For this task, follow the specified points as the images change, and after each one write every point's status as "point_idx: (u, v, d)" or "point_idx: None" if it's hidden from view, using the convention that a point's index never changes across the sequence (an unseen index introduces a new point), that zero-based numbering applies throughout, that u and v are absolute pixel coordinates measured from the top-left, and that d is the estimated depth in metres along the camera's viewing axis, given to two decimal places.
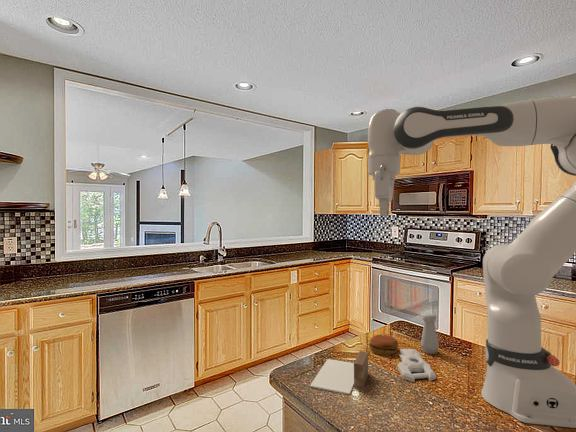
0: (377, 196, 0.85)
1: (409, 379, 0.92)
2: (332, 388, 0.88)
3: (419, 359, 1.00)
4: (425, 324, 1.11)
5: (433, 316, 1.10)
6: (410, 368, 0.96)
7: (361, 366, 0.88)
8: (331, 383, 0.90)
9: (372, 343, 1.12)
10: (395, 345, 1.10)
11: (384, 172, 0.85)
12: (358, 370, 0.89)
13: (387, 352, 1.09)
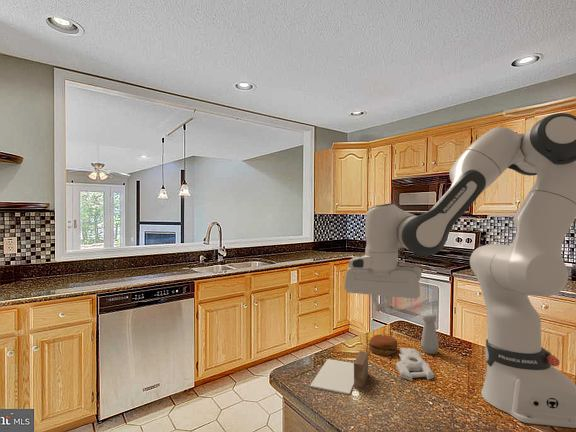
0: None
1: (407, 378, 0.92)
2: (332, 388, 0.88)
3: (418, 358, 1.01)
4: (425, 324, 1.11)
5: (433, 316, 1.10)
6: (408, 367, 0.97)
7: (361, 366, 0.88)
8: (331, 383, 0.90)
9: (372, 343, 1.12)
10: (395, 345, 1.10)
11: None
12: (358, 370, 0.89)
13: (387, 352, 1.09)
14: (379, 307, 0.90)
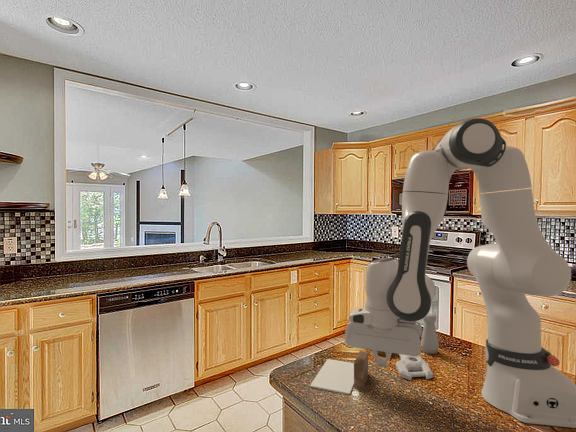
0: (419, 354, 0.86)
1: (406, 377, 0.93)
2: (332, 388, 0.88)
3: (418, 358, 1.01)
4: (425, 324, 1.11)
5: (433, 316, 1.10)
6: (408, 366, 0.97)
7: (361, 366, 0.88)
8: (331, 383, 0.90)
9: None
10: None
11: None
12: (358, 370, 0.89)
13: None
14: (379, 362, 0.90)
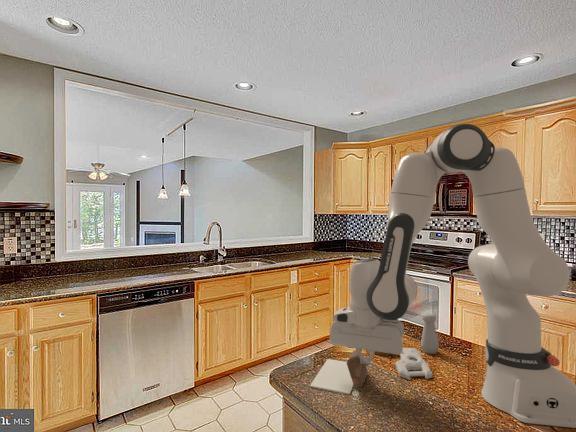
0: (401, 352, 0.88)
1: (405, 377, 0.93)
2: (332, 388, 0.88)
3: (418, 358, 1.01)
4: (425, 324, 1.11)
5: (433, 316, 1.10)
6: (407, 366, 0.97)
7: (354, 364, 0.89)
8: (331, 383, 0.90)
9: None
10: None
11: None
12: (352, 368, 0.89)
13: None
14: (363, 360, 0.92)
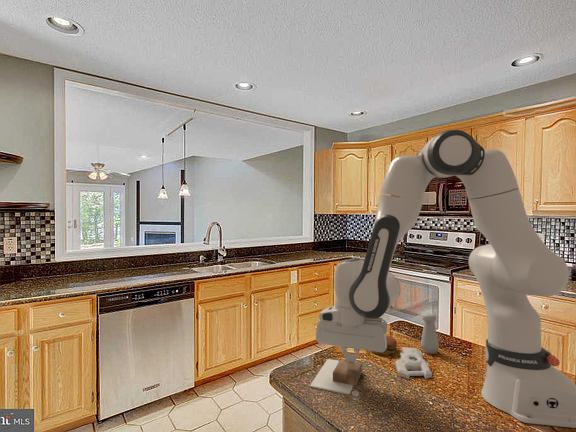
0: (384, 350, 0.89)
1: (404, 376, 0.94)
2: (332, 388, 0.88)
3: (418, 357, 1.01)
4: (425, 324, 1.11)
5: (433, 316, 1.10)
6: (407, 366, 0.98)
7: (334, 374, 0.91)
8: (331, 383, 0.90)
9: None
10: (394, 345, 1.10)
11: None
12: (338, 377, 0.91)
13: (386, 352, 1.09)
14: (348, 358, 0.93)
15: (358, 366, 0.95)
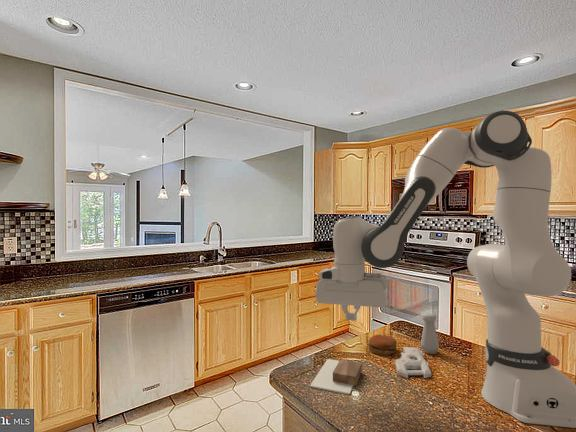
0: (384, 305, 0.89)
1: (403, 375, 0.94)
2: (332, 388, 0.88)
3: (418, 357, 1.02)
4: (425, 324, 1.11)
5: (433, 316, 1.10)
6: (407, 365, 0.98)
7: (334, 374, 0.91)
8: (331, 383, 0.90)
9: (371, 343, 1.12)
10: (394, 345, 1.10)
11: None
12: (338, 377, 0.91)
13: (386, 352, 1.09)
14: (349, 316, 0.93)
15: (358, 366, 0.95)
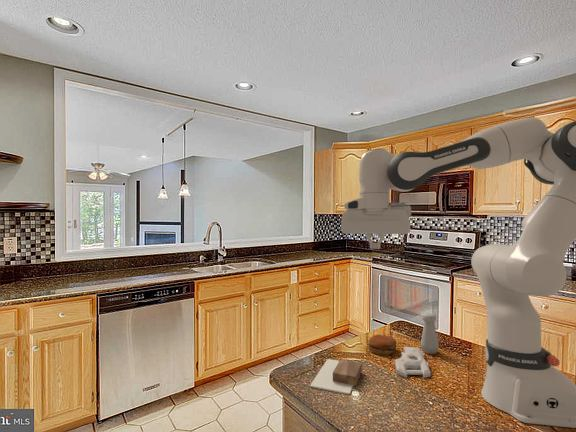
0: (408, 232, 0.93)
1: (402, 374, 0.94)
2: (332, 388, 0.88)
3: (418, 357, 1.02)
4: (425, 324, 1.11)
5: (433, 316, 1.10)
6: (406, 364, 0.98)
7: (334, 374, 0.91)
8: (331, 383, 0.90)
9: (371, 343, 1.12)
10: (394, 345, 1.10)
11: None
12: (338, 377, 0.91)
13: (386, 352, 1.09)
14: (373, 245, 0.97)
15: (358, 366, 0.95)
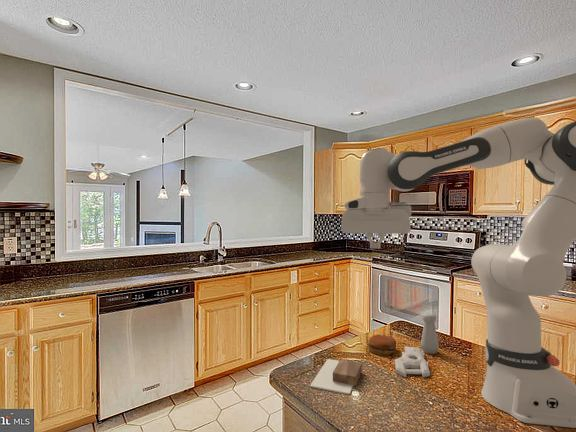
0: None
1: (401, 374, 0.95)
2: (332, 388, 0.88)
3: (418, 357, 1.02)
4: (425, 324, 1.11)
5: (433, 316, 1.10)
6: (406, 364, 0.99)
7: (334, 374, 0.91)
8: (331, 383, 0.90)
9: (370, 343, 1.12)
10: (393, 345, 1.10)
11: None
12: (338, 377, 0.91)
13: (385, 352, 1.09)
14: (373, 244, 0.98)
15: (358, 366, 0.95)
